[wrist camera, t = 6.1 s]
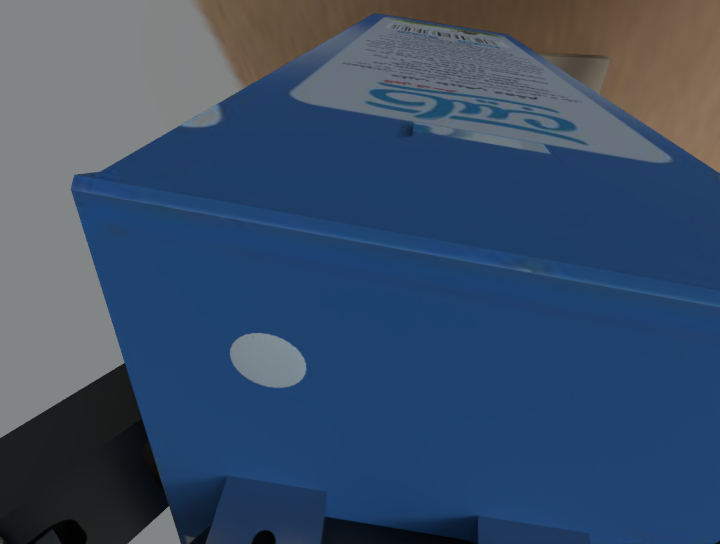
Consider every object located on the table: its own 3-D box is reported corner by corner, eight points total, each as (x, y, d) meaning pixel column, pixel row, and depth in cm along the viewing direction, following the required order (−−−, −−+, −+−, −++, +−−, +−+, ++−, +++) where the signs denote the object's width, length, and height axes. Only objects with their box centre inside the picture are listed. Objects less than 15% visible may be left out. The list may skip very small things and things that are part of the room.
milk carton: (452, 222, 25) (499, 687, 8) (350, 204, 25) (205, 622, 9) (508, 32, 19) (1018, 349, 3) (374, 10, 19) (65, 177, 3)
